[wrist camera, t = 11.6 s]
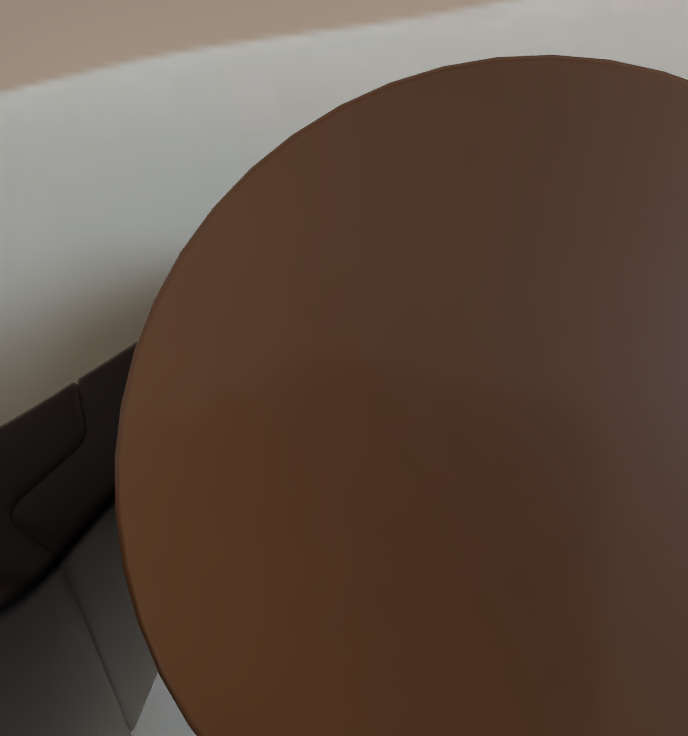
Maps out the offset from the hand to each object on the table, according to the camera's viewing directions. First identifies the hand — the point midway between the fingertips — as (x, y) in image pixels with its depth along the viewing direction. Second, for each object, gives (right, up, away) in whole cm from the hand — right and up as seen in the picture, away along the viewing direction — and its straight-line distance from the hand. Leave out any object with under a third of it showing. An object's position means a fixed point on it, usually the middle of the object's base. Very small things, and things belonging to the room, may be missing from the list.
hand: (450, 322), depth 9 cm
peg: (0, -2, +7) cm, 7 cm away
